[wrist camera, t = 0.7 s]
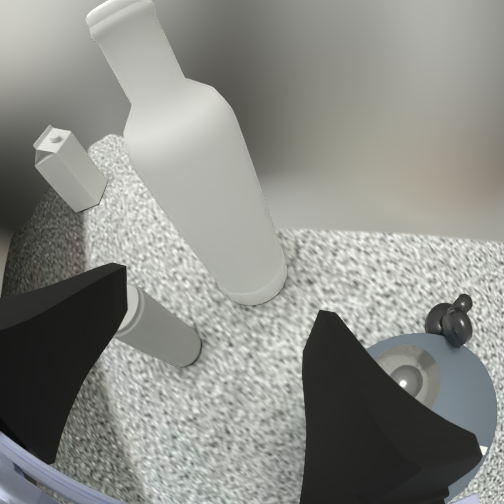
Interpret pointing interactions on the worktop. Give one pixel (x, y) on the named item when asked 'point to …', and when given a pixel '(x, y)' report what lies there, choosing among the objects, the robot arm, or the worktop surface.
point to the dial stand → (451, 321)
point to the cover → (412, 371)
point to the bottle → (191, 155)
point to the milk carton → (69, 169)
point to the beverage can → (157, 330)
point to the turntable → (456, 391)
